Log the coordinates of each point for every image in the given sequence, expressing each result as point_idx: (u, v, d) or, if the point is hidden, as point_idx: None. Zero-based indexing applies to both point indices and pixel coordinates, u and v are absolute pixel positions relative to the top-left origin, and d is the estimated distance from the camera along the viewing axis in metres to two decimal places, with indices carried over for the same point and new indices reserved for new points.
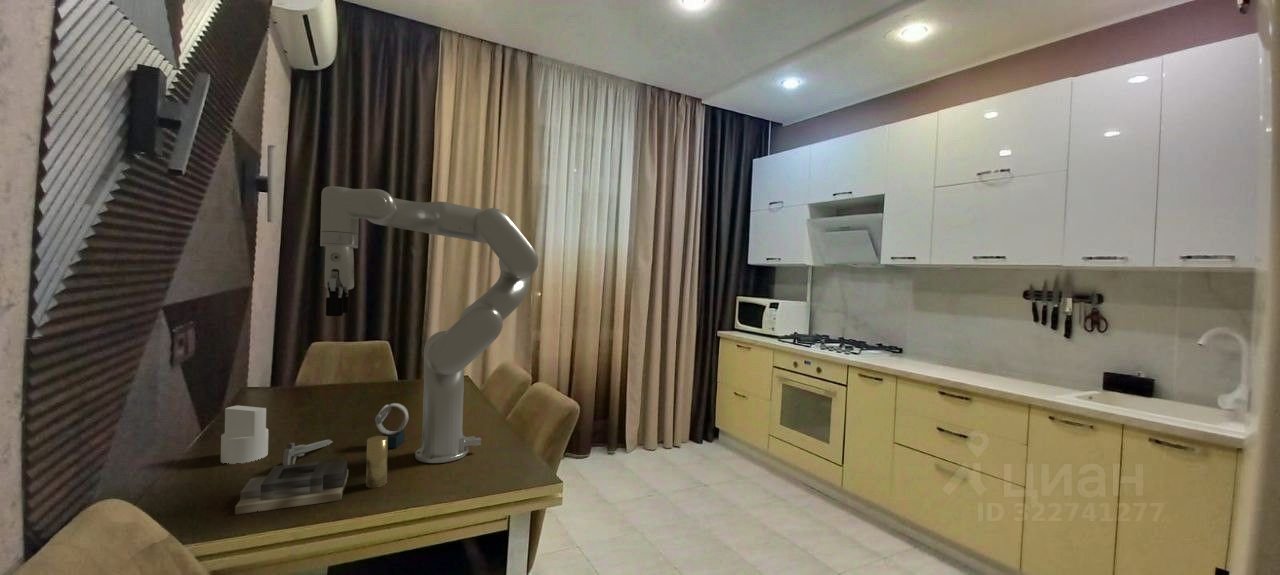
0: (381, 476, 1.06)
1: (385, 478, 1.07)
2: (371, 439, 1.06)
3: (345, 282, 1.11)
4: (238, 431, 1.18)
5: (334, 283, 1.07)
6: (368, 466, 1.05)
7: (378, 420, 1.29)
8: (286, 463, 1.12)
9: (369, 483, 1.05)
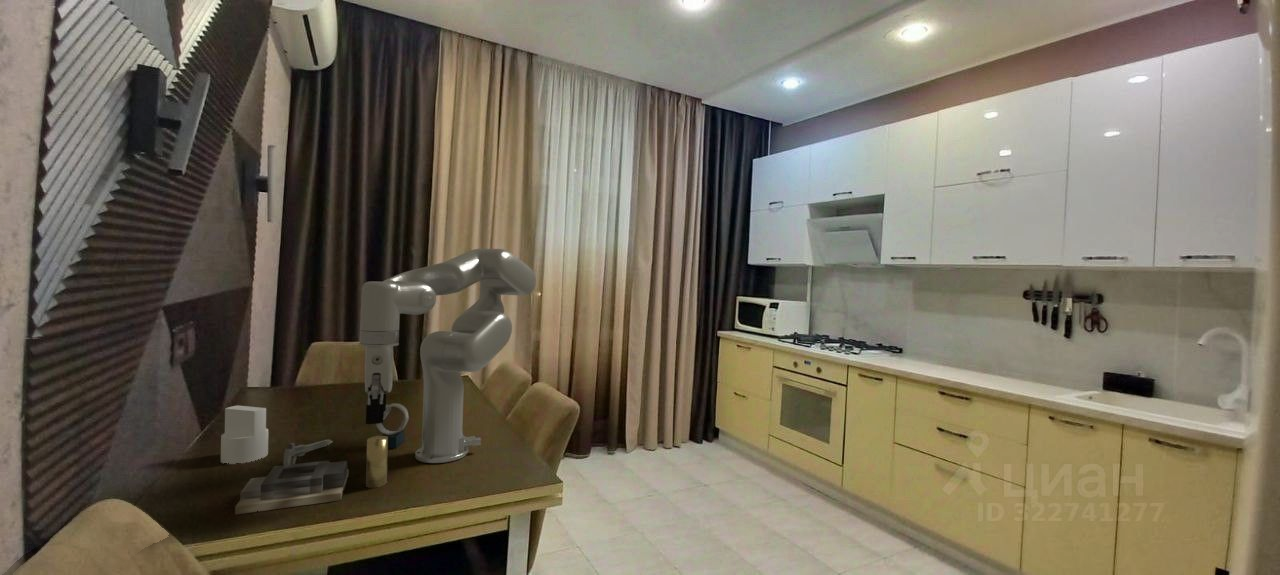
0: (381, 476, 1.06)
1: (385, 478, 1.07)
2: (371, 439, 1.06)
3: (386, 386, 1.02)
4: (238, 431, 1.18)
5: (376, 391, 0.99)
6: (368, 466, 1.05)
7: None
8: (286, 463, 1.12)
9: (369, 483, 1.05)
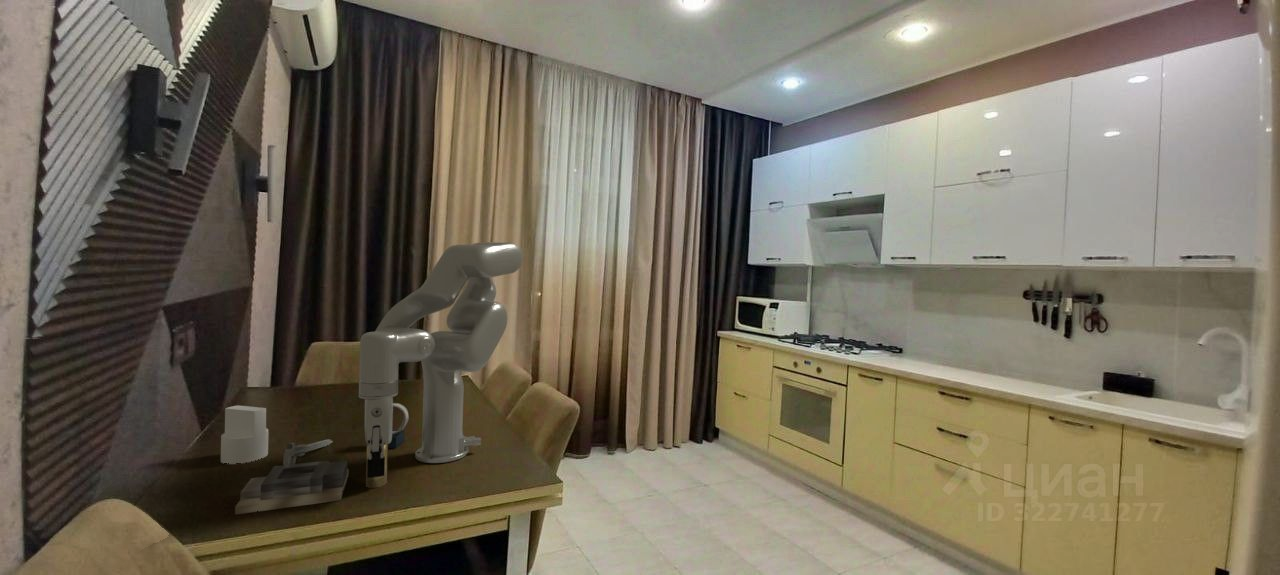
0: (381, 476, 1.06)
1: (385, 478, 1.07)
2: None
3: (387, 438, 1.03)
4: (238, 431, 1.18)
5: (377, 451, 1.01)
6: None
7: None
8: (286, 463, 1.12)
9: (369, 483, 1.05)
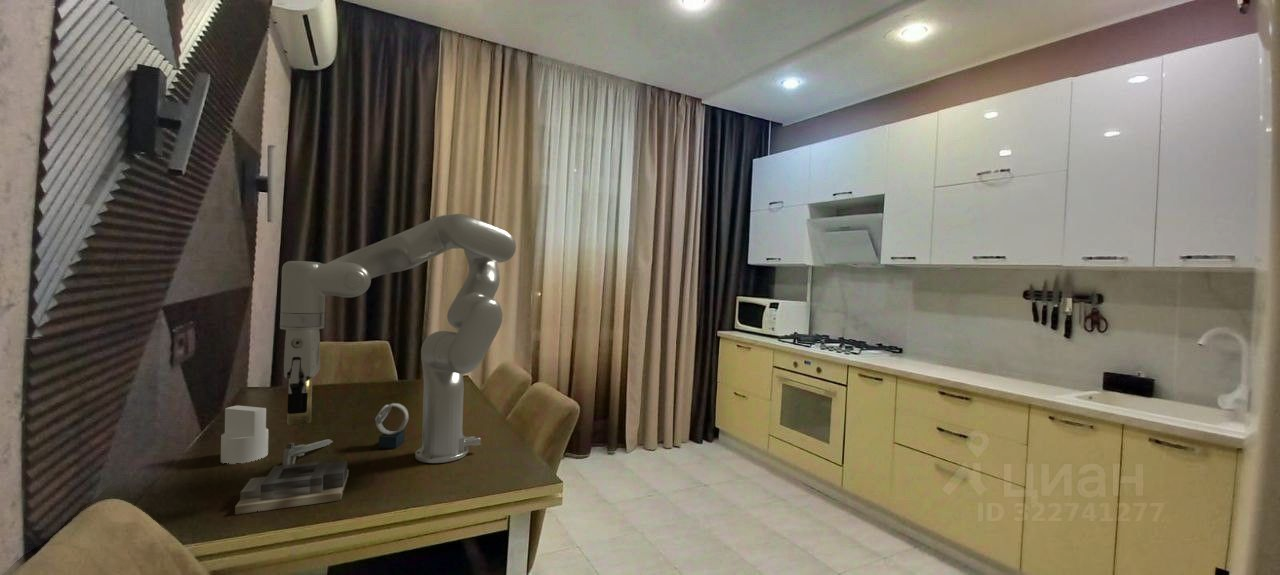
0: (303, 413, 1.00)
1: (308, 416, 1.01)
2: None
3: (308, 371, 0.97)
4: (238, 431, 1.18)
5: (296, 384, 0.95)
6: None
7: (378, 420, 1.29)
8: (286, 463, 1.12)
9: (290, 420, 0.99)
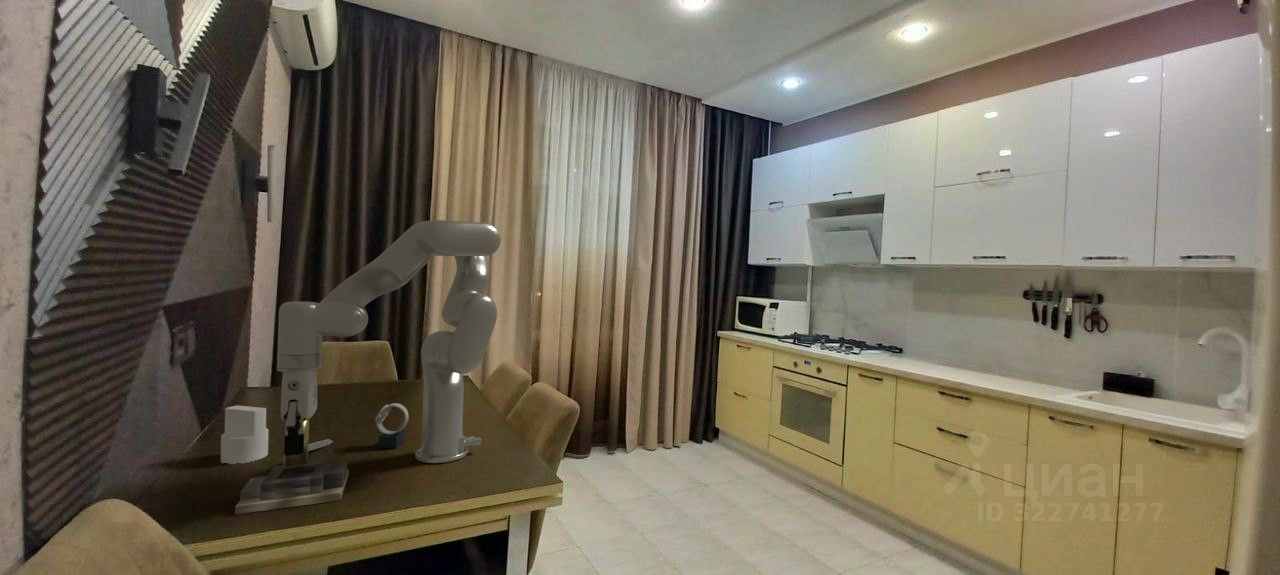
0: (300, 454, 1.00)
1: (305, 457, 1.01)
2: None
3: (304, 413, 0.97)
4: (238, 431, 1.18)
5: (292, 427, 0.95)
6: None
7: (378, 420, 1.29)
8: None
9: (287, 461, 0.99)
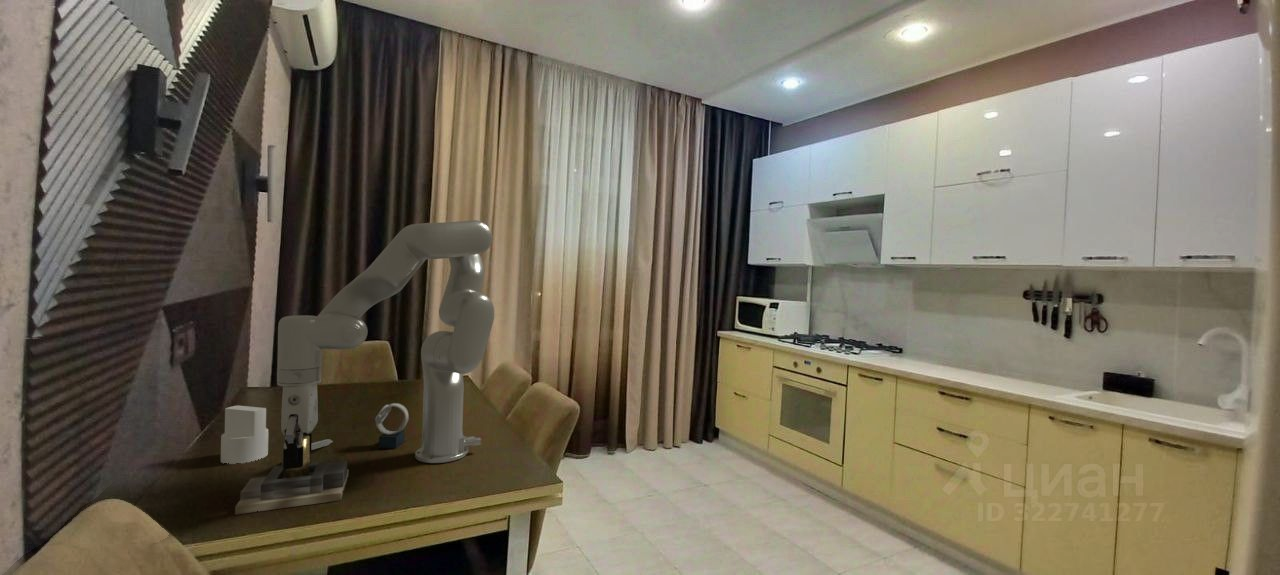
0: None
1: None
2: None
3: (305, 427, 0.97)
4: (238, 431, 1.18)
5: (291, 436, 0.94)
6: None
7: (378, 420, 1.29)
8: None
9: None
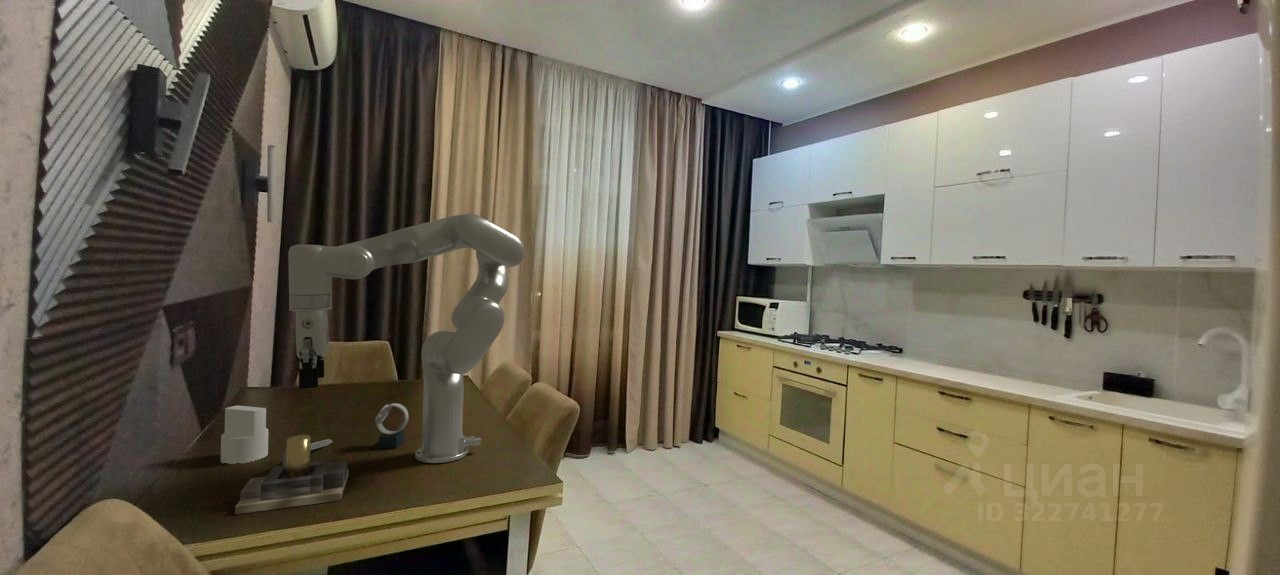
0: None
1: None
2: (291, 438, 1.00)
3: (319, 350, 1.01)
4: (238, 431, 1.18)
5: (307, 354, 0.97)
6: (287, 467, 0.99)
7: (378, 420, 1.29)
8: None
9: None
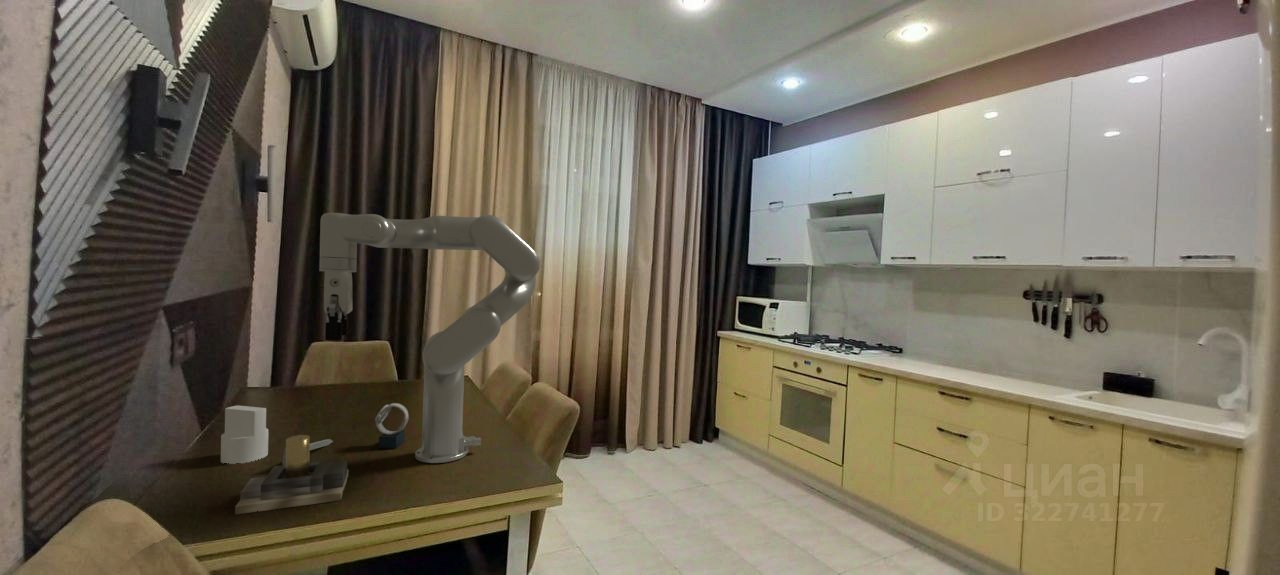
0: None
1: None
2: (291, 439, 1.00)
3: (344, 307, 1.13)
4: (238, 431, 1.18)
5: (333, 309, 1.09)
6: (287, 467, 0.99)
7: (378, 420, 1.29)
8: None
9: None
